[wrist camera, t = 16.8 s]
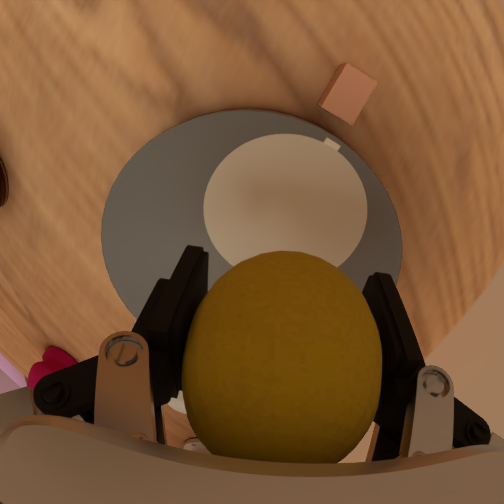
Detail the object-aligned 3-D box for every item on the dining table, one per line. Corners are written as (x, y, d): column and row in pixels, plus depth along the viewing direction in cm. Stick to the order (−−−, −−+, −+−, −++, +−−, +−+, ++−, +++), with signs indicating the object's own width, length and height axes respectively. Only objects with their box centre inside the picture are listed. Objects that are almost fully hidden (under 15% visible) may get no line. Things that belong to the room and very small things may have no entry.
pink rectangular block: (344, 121, 16) (352, 125, 15) (316, 104, 16) (321, 106, 14) (368, 82, 15) (378, 83, 13) (340, 64, 14) (347, 62, 13)
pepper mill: (38, 346, 34) (-18, 449, 18) (57, 340, 32) (-7, 459, 15) (70, 377, 38) (24, 478, 21) (93, 373, 35) (43, 491, 18)
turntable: (430, 150, 15) (508, 203, 8) (340, 363, 26) (348, 439, 19) (108, 101, 15) (17, 127, 8) (130, 329, 26) (98, 397, 19)
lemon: (270, 340, 14) (255, 509, 7) (185, 259, 12) (102, 456, 5) (378, 286, 11) (427, 479, 5) (304, 177, 9) (339, 430, 3)
